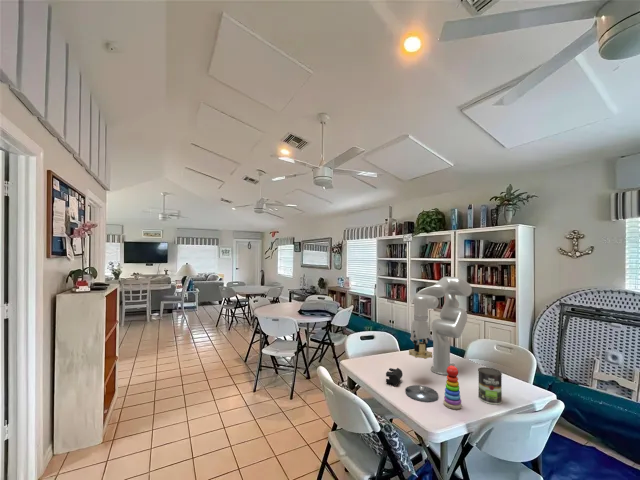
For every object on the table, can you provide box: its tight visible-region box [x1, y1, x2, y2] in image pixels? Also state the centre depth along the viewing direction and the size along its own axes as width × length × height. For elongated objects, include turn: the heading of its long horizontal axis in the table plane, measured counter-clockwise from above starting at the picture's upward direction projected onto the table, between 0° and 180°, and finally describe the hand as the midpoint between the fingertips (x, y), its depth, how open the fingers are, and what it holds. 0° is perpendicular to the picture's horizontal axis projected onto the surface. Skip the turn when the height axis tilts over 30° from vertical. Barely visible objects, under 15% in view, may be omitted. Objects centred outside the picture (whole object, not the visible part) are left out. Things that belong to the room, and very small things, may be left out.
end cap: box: [385, 367, 404, 387], centre depth 166 cm, size 10×7×7 cm
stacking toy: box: [443, 365, 463, 410], centre depth 142 cm, size 8×8×19 cm
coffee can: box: [477, 366, 503, 406], centre depth 149 cm, size 10×10×14 cm
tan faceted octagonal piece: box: [408, 341, 433, 360], centre depth 168 cm, size 12×12×6 cm
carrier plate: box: [404, 384, 439, 403], centre depth 153 cm, size 16×16×4 cm
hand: (420, 350), depth 168 cm, fingers closed on tan faceted octagonal piece, 5 cm apart
